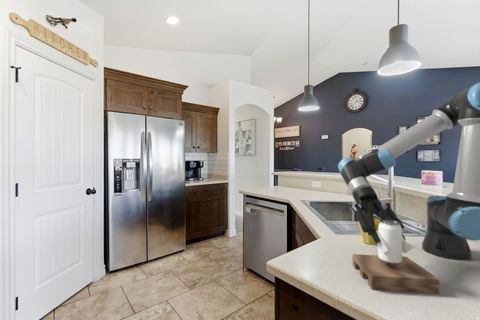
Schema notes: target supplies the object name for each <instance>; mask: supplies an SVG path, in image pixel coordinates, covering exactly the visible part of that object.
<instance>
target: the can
mask: <svg viewBox="0 0 480 320" xmlns="http://www.w3.org/2000/svg"><path fill="white" fill-rule="evenodd" d="M379 221H380V224H379V225H378V231H379V232H380V234H381V235H382V237H383V239H384V240H385V242H386V244H387V246H388V248H389V249H390V251H389V252H387V253H386V254H383V253H382V251H381V250H380V248H379V246H378V245H377V255H378V257H379V258H380V259H381V260H382V261H385V262H388V263H394V264H397V263H400V262H402V256H403V252H402V234H403V229H402V228H401V226H400V223H399V222H396V221H391V220H381V219H380V220H379Z"/></svg>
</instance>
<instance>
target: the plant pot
mask: <svg viewBox="0 0 480 320" xmlns="http://www.w3.org/2000/svg"><path fill="white" fill-rule="evenodd" d="M374 222H375V227H376V231H378V225H379V224H380V220H379V219H374ZM358 228H359V229H360V232H361V233H360V235H361V239H362V243H364V244H367V245H374V246H375V245H377V246H378V244H377V243H375V242H374V240H373V238H372V236H370V235H368V233H367V232H366V233H364V232H363V230H362V228H361V225H360V223H359V222H358Z"/></svg>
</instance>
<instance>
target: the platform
mask: <svg viewBox="0 0 480 320" xmlns="http://www.w3.org/2000/svg"><path fill="white" fill-rule="evenodd" d="M352 267H353V268H354V269H355V270H359V275H360V277H361V278H362V279H367V286H368V287H369V288H370V289H371V290H380V291H393V292H395V291H398V292H410V293H411V292H415V293H427V292H434V293H433V294H439V293H440V284H441V283H440V282H441V281H440V280H441V279H440V278H439V277H437V276H435V275H434V274H432V273H431V272H429V271H428V270H427V269H425V268H423V267H422V266H421V265H419V264H418V263H416V262H415V261H414V260H413V259H411V258H409V257H408V256H403V255H402V262H400V263H397V264H394V263H388V262H385V261H382V260H381V259H380V258H379V257H378V254H376V255H375V254H357V253H356V254H353V253H352Z"/></svg>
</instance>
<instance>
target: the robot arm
mask: <svg viewBox="0 0 480 320" xmlns="http://www.w3.org/2000/svg"><path fill="white" fill-rule="evenodd" d="M458 125H460V126H461V127H462V128H461V135H460V140H459V145H458V146H459V147H458V152H457V153H458V154H457V161H456V165H455V174H454V180H453V185H452V186H453V187H452V192H451V193H448V194H447V195H429V196H428V197H427V199H426V200H427V202H426V210H427V211H426V212H427V213H426V216H427V217H426V218H427V219H426V222H427V224H426V225H427V227H426V228H427V229H426V233H425V236H424V238H423V240H422V243H421V247H422V248H421V249H422V250H423V251H425V252H427V253H428V254H431V255H434V256H437V257H442V258H446V259H451V260H460V261H461V260H466V261H467V260H470V259H472V250H471V248H470V245H469V243H468V241H467V240H469V241H480V82H477V83H475V84H474V85H472V86H470V87H468V88H467V89H465V90H461V91H460V92H458V93H456V94H455V95H453V96H452V97H451V98H449V99H448V100H447V101H446V102H444V103H443V104H442V105H440V106H438V107H437V108H435V109H433V110H432V114H431V115H428V116H427V117H426V118H424V119H422V120H421V121H419V122H417V123H415V124H414V125H413V126H411V127H409V128H408V129H406V130H404V131H402V132H401V133H399V134H398V135H396V136H394V137H393V138H391V139H389V140H388V141H386V142H384V143H383V144H381V145H380V146H378V147H376V148H374V149H373V150H372V151H370V152H368V153H365V154H363V155H362V156H361V158H359V159H355V157H354V158H353V157H351V156H350V157H345V158H343V159H341V160H340V161H339V162H338V164H337V168H338V170H339V173H340V175H341V177H342V179H343V181H344V183H345V184H346V186H347V188H348V190H349V192H350V194H351V196H352V198H353V199H354V202H355V203H354V205H353V206H352V207H351V209H352V211H353V212H354V213H355V215H356V218H357V220H358V224H359V223H360V225H361V228H362V230H363V232H364V233H366V232H367V233H368V235H370V236H372V238H373V240H374V242H375V243H377V244H378V245H377V247H378V246H379V248H380V250H381V251H382V253H383V254H386V253H387V252H389V251H390V249H389V248H388V246H387V244H386V242H385V240H384V239H383V237H382V235H381V234H380V232H379V231H376V227H375V222H374V216H376V217H377V218H379V219H380V220H391V221H396V222H399V223H400V226H401V228H402V230H403V229H404V228H405V225H404V224H403V222H401V220H400V218H398V216H397V215H396V212H394V211H393V209H392V207H391V205H390V202H389V203H388V202H386V203H382V202H381V201H380V200H379V199H378V193H376V191H375V189H374V187H373V186H372V184H371V183H370V181H369V180H368V178H367V177H370V176H372V175H375V174H377V173H381V172H383V171H385V170H389V169H391V168H394V167H395V166H396V164H397V163H396V158H397V157H399V156H401V155H403V154H404V153H406V152H408V151H411V150H412V149H413V148H415V147H417V146H418V145H420V144H421V143H424V142H425V141H427V140H429V139H430V138H432V137H434V136H436V135H437V134H439V133H441V132H442V131H445V130H452V129H453V128H455V127H457V126H458ZM406 240H407V239H406V237H405V235H404V234H403V233H402V254H407V252H409V251H410V250H411V248H410V246H409V244H408V242H407V241H406Z"/></svg>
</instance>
